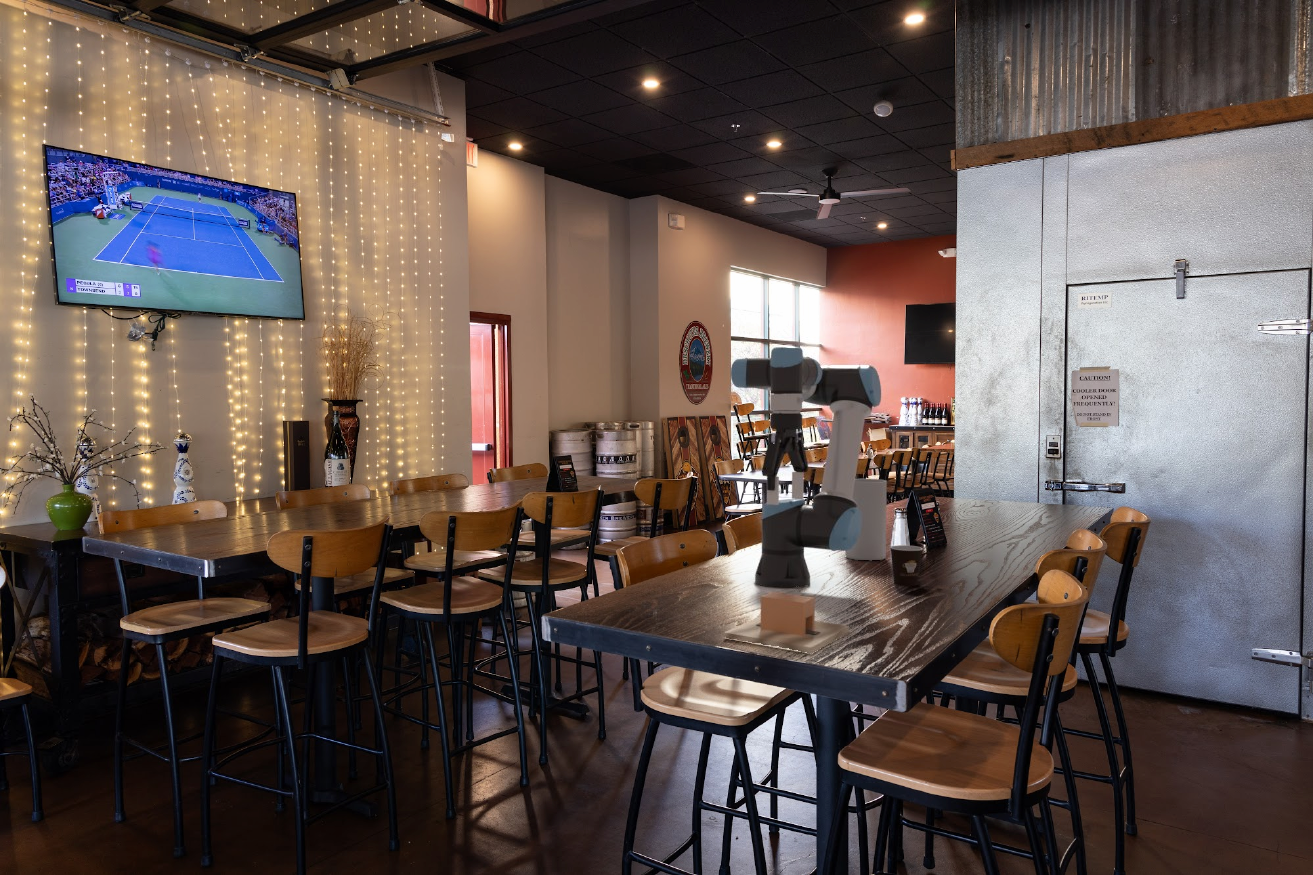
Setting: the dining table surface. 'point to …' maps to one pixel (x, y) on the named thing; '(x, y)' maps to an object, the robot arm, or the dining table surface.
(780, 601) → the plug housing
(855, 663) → the dining table surface
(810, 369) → the robot arm
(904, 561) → the coffee mug
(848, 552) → the cylinder vase
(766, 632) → the board
